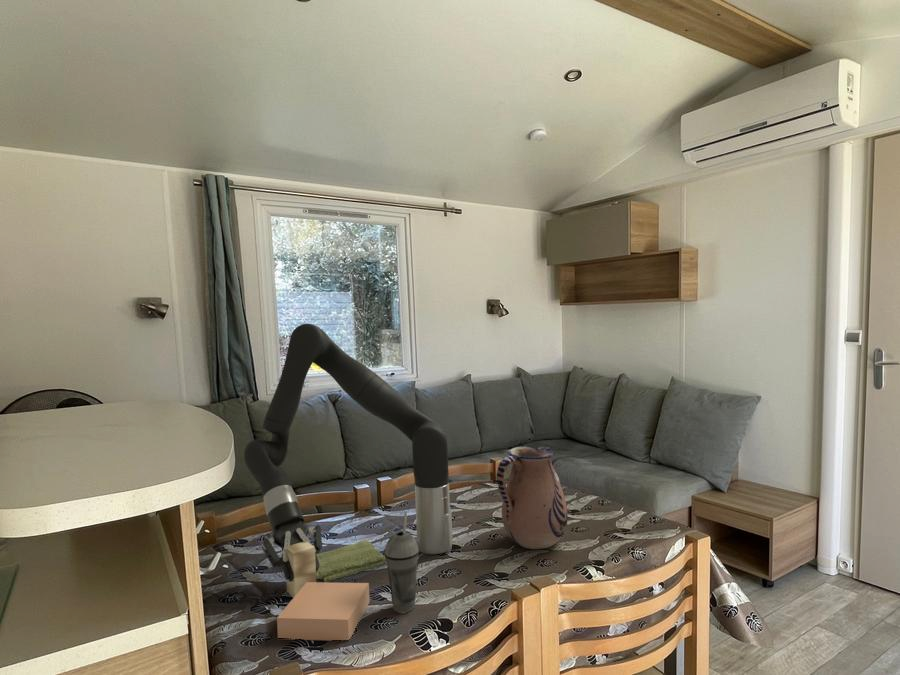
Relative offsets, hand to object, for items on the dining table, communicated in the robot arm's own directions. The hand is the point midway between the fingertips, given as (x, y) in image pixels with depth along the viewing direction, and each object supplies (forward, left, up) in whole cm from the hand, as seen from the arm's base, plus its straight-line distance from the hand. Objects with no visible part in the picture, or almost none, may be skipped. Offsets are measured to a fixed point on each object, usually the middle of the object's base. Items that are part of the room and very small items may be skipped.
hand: (304, 575), depth 112 cm
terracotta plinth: (-9, +10, -4) cm, 14 cm away
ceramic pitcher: (-52, -27, -4) cm, 59 cm away
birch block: (+1, -1, -4) cm, 5 cm away
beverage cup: (-24, +5, -4) cm, 25 cm away
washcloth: (-5, -15, -5) cm, 16 cm away
